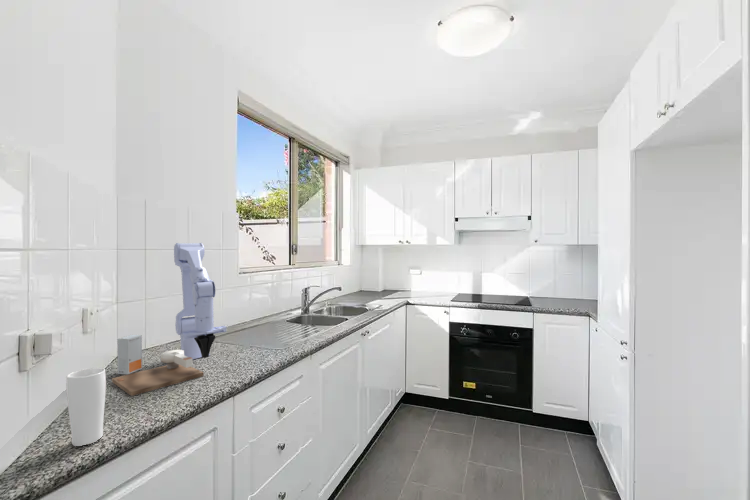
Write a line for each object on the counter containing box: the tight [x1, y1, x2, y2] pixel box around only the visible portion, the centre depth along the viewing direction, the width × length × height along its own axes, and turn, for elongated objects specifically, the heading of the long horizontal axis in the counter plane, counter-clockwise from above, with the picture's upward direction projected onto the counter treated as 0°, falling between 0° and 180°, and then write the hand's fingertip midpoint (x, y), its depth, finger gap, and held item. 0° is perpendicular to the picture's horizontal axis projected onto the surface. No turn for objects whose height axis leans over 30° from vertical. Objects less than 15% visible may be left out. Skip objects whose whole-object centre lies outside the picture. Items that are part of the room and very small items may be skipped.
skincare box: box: [116, 334, 143, 375], centre depth 125 cm, size 6×4×12 cm
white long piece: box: [160, 349, 194, 368], centre depth 123 cm, size 16×7×3 cm, turn 50°
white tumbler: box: [65, 367, 107, 447], centre depth 79 cm, size 7×7×15 cm
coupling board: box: [111, 362, 205, 397], centre depth 118 cm, size 20×18×4 cm
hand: (205, 357), depth 124 cm, fingers closed
